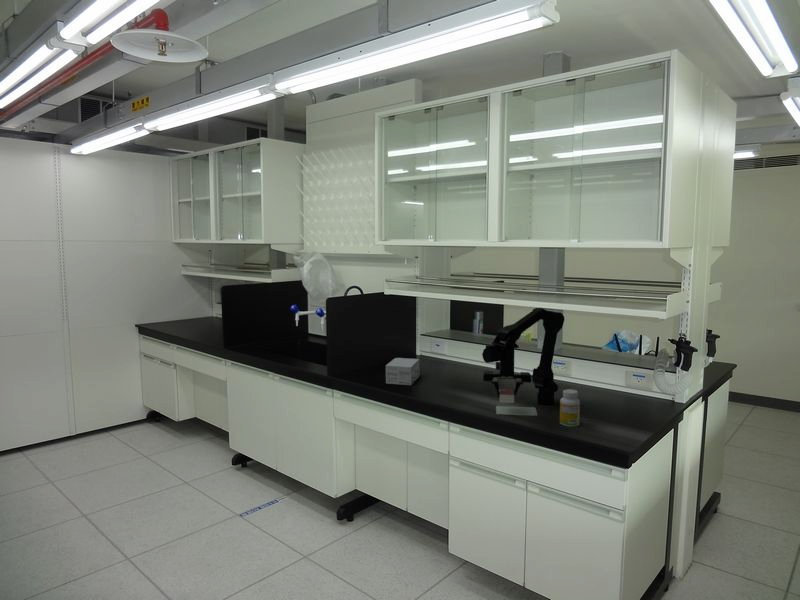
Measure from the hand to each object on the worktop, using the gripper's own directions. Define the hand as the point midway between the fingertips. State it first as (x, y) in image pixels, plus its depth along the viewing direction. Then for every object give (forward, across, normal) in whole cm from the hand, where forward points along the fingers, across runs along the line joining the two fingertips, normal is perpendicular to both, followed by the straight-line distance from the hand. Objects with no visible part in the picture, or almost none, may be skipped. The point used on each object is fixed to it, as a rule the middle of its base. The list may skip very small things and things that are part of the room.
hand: (506, 397), depth 214 cm
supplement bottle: (+6, -23, +11) cm, 26 cm away
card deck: (+1, 0, 0) cm, 1 cm away
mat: (+6, -4, -1) cm, 7 cm away
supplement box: (+6, +49, -44) cm, 66 cm away
